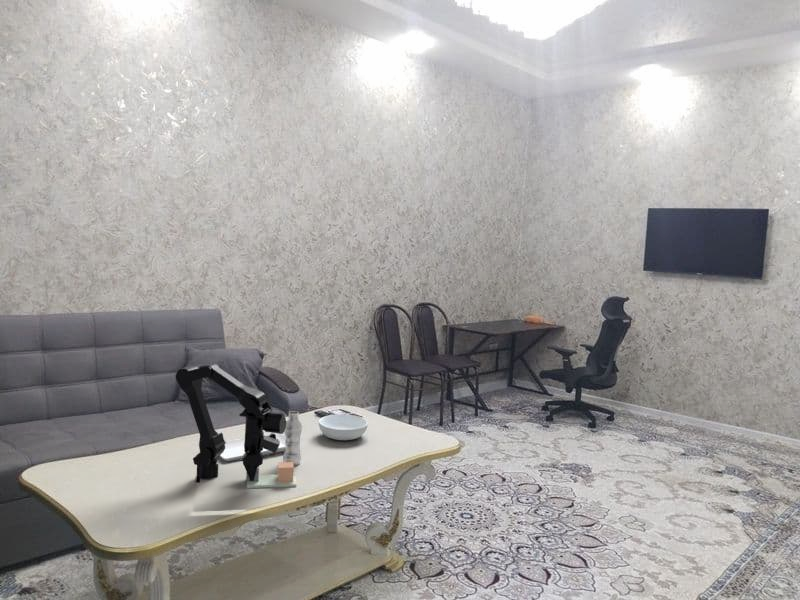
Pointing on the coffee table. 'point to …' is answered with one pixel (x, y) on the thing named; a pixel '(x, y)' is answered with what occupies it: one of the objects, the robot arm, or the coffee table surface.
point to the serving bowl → (343, 426)
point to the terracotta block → (285, 471)
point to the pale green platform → (268, 481)
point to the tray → (236, 448)
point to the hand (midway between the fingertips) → (252, 475)
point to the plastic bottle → (292, 439)
